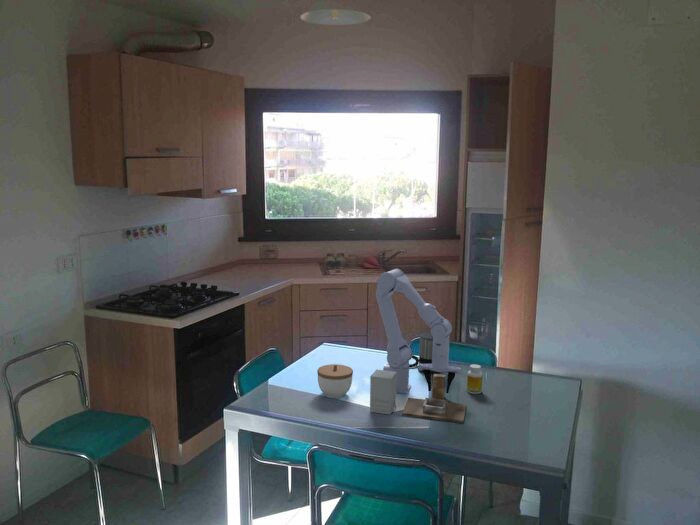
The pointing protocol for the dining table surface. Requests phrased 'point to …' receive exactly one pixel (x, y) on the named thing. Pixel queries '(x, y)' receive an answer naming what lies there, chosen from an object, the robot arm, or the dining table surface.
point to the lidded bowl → (334, 380)
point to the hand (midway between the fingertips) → (438, 391)
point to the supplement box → (383, 391)
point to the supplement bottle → (474, 379)
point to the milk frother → (424, 351)
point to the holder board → (434, 409)
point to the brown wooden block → (438, 387)
